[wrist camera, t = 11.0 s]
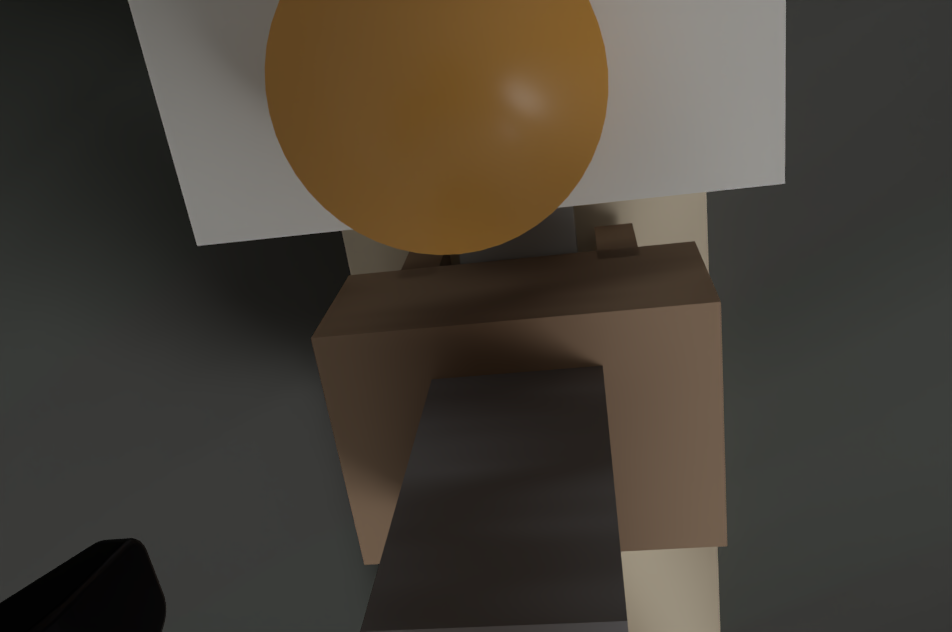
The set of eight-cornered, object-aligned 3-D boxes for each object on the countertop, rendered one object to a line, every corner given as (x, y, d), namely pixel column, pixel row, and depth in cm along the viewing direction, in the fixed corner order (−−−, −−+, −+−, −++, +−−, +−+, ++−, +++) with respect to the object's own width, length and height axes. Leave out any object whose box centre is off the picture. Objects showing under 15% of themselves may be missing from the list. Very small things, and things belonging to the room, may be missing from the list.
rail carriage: (684, 217, 18) (820, 536, 9) (693, 420, 20) (812, 862, 11) (364, 250, 19) (170, 570, 10) (402, 441, 21) (273, 863, 12)
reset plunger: (587, -118, 10) (593, -127, 8) (610, 188, 11) (621, 237, 9) (285, -70, 10) (226, -69, 9) (344, 216, 12) (305, 270, 10)
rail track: (685, -127, 17) (708, -137, 14) (712, 636, 25) (731, 722, 22) (300, -67, 18) (254, -65, 16) (443, 646, 26) (430, 729, 24)
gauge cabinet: (696, -131, 16) (786, -169, 9) (703, 119, 18) (784, 227, 11) (279, -66, 17) (110, -62, 11) (327, 163, 19) (208, 285, 12)
